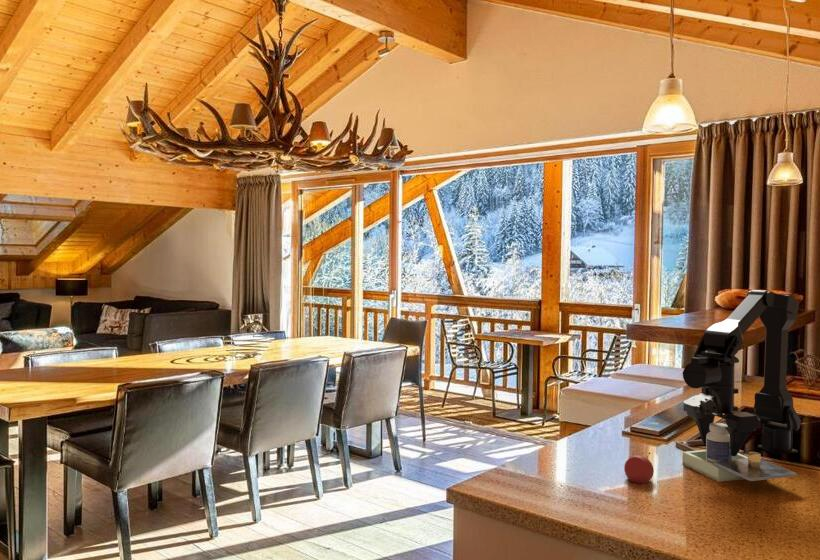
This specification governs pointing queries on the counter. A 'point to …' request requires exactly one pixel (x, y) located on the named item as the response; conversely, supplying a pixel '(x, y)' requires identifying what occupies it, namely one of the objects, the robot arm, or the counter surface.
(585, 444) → the counter surface
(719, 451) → the pill bottle
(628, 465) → the fruit
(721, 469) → the box
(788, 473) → the lid
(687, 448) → the frame
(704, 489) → the counter surface
